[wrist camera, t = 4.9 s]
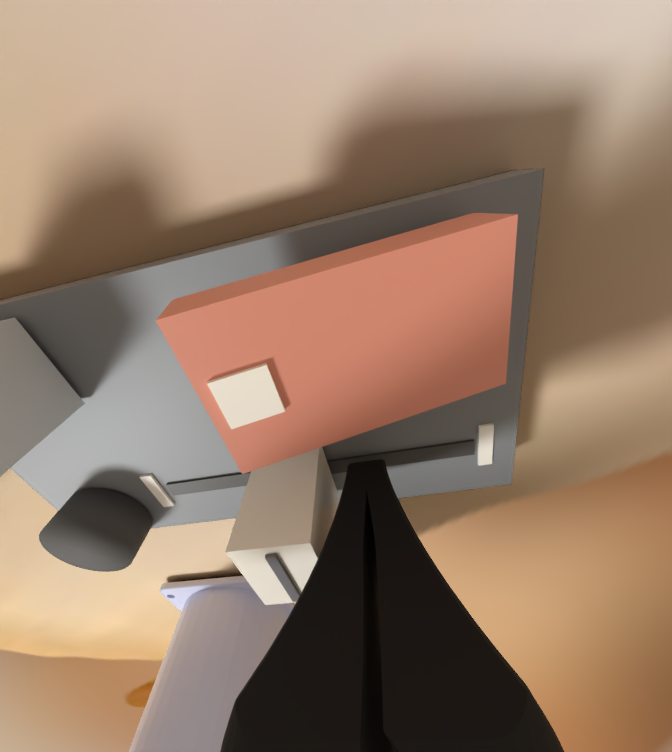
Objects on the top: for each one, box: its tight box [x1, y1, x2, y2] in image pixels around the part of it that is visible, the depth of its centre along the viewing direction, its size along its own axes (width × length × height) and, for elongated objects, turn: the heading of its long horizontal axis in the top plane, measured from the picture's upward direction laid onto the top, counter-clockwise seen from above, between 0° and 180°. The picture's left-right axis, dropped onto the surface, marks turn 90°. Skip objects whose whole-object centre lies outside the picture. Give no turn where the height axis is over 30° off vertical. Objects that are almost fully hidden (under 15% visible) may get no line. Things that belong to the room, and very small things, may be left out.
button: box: [39, 488, 152, 572], centre depth 14 cm, size 4×4×2 cm
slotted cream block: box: [226, 447, 339, 605], centre depth 11 cm, size 3×2×4 cm
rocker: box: [156, 213, 518, 474], centre depth 7 cm, size 4×7×2 cm, turn 103°
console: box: [0, 169, 544, 528], centre depth 12 cm, size 11×20×2 cm, turn 103°
